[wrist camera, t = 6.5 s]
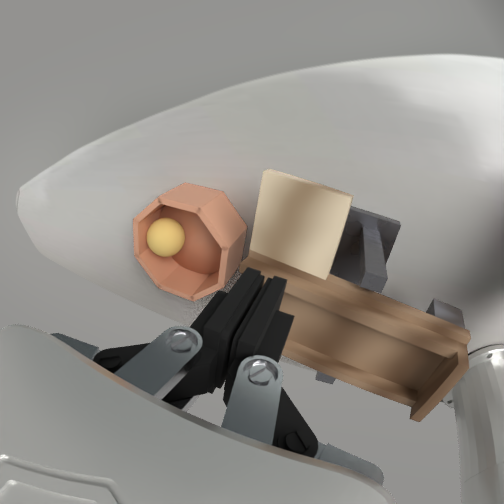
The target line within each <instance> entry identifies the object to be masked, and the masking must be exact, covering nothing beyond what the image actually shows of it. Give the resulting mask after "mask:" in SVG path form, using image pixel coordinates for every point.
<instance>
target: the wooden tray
mask: <svg viewBox="0 0 504 504" xmlns="http://www.w3.org/2000/svg"><path fill="white" fill-rule="evenodd" d="M352 200H353V195H350V194H348V193H345V192H342V191H339V190H336V189H333V188H330V187H327V186H324V185H321V184H318V183H315V182H312V181H308V180H305V179H302V178H299V177H296V176H292V175H289V174H286V173H282V172H279V171H275V170H272V169H268V170H265V171H263V176H262V181H261V187H260V193H259V198H258V204H257V209H256V215H255V221H254V226H253V232H252V238H251V243H250V249H249V255H248V257H247V258H246V259H244V260H243V261H242V262H241V263H240V268H239V272H240V273H242V274H243V273H244V271H245V270H246V268H247V267H250V268H253V269H256V270H259V271H261V275H263V276H265V278H264V283H263V285H264V284H265V282H266V280H267V278H268V277H269V278H272V279H273V277H274V276H278V277H281V278H284V279H287V284H286V288H285V291H284V295H283V298H282V302H281V305H280V309H279V311H281V312H284V313H287V314H291V315H294V316H295V317H294V320H293V323H292V326H291V329H290V332H289V335H288V338H287V340H286V343H285V346H284V349H283V351H282V354H281V355H284V356H286V357H288V358H290V359H292V360H295V361H297V362H299V363H301V364H303V365H306V366H308V367H310V368H313V369H315V370H317V371H320V372H322V373H324V374H327V375H329V376H331V377H334V378H336V379H339V380H341V381H344V382H346V383H349V384H351V385H354V386H356V387H359V388H361V389H364V390H366V391H369V392H372V393H374V394H377V395H380V396H382V397H385V398H388V399H390V400H393V401H396V402H399V403H402V404H405V405H408V406H410V407H411V414H410V419H412V420H415V421H418V422H420V421H421V420H422V419H423V418H424V417H425V416H426V415H427V414H428V413H429V412H430V411H431V410H432V409H433V408H434V407H435V406H436V405H437V404H438V403H439V402H440V401H441V400H442V399H443V398H444V397H445V396H446V395H447V394H448V392H449V391H450V390H451V389H452V388H453V387H454V386H455V385H456V383H457V382H458V381H459V380H460V379H461V378H462V376H463V375H464V374H465V373H466V372H467V370H468V369H469V360H468V351H467V344H468V342H469V341H470V340H471V336H470V331H469V330H467V329H465V325H464V319H463V314H462V310H460V309H458V308H455V307H453V306H451V305H448V304H446V303H443V302H441V301H439V300H436V299H433V301H432V303H431V304H430V306H429V308H428V310H427V311H426V313H425V312H423V311H421V310H418V309H416V308H413V307H411V306H408V305H406V304H403V303H401V302H398V301H396V300H393V299H391V298H389V297H386V296H384V295H381V294H379V293H376V292H374V291H371V290H369V289H366V288H363V287H360V286H359V285H356V284H354V283H351V282H349V281H346V280H344V279H341V278H339V277H336V276H334V275H331V274H329V272H330V269H331V266H332V263H333V260H334V257H335V254H336V251H337V248H338V245H339V242H340V239H341V236H342V233H343V230H344V226H345V223H346V220H347V217H348V213H349V210H350V207H351V203H352Z"/></svg>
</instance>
